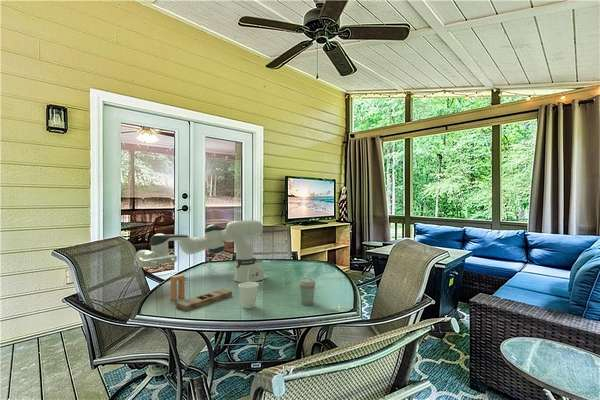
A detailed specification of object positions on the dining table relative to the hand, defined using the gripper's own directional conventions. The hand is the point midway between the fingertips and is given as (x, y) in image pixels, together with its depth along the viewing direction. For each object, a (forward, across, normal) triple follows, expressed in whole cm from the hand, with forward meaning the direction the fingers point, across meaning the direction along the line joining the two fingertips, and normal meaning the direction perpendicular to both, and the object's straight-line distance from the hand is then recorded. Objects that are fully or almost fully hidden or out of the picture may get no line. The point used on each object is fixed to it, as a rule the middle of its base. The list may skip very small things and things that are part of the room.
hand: (165, 262), depth 166 cm
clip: (+12, 0, -18) cm, 21 cm away
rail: (+28, -6, -18) cm, 34 cm away
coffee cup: (+72, -36, -18) cm, 82 cm away
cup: (+51, -15, -18) cm, 56 cm away
